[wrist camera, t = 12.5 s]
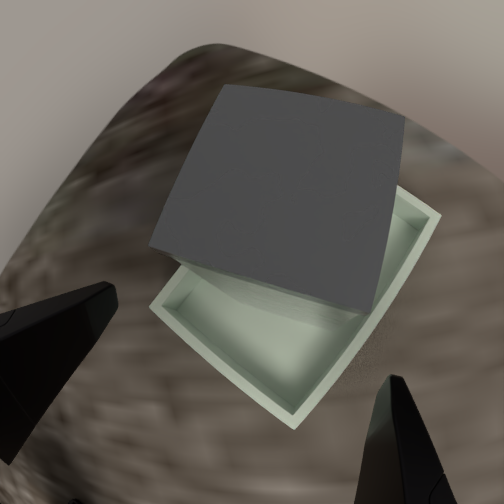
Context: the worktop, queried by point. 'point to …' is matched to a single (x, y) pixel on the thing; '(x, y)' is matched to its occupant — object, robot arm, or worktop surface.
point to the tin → (287, 203)
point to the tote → (289, 325)
